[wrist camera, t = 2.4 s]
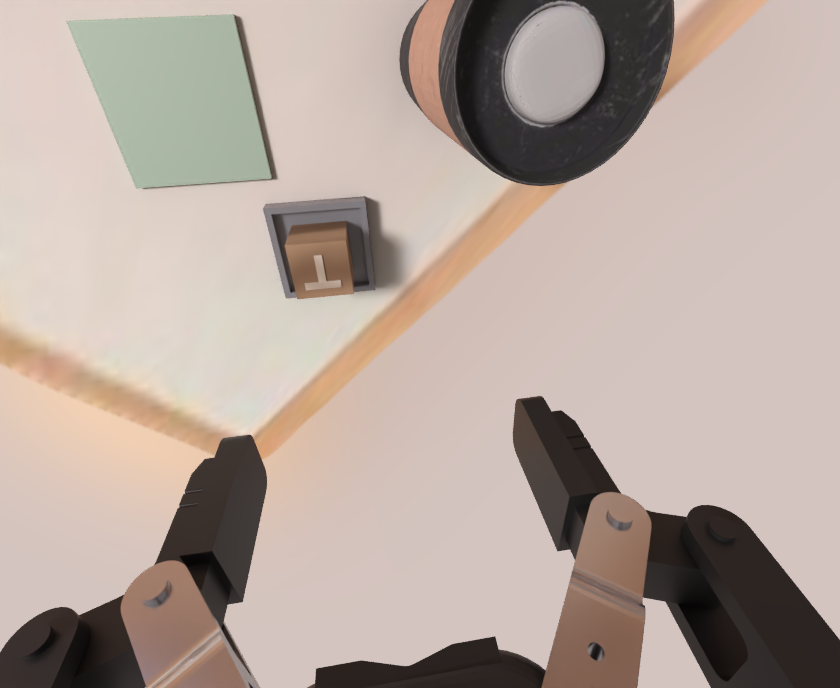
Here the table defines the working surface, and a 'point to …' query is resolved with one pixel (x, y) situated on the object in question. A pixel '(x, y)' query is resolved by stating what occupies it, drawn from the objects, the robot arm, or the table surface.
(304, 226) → the letter cube
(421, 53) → the travel mug
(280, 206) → the tray
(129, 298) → the table surface
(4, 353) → the table surface
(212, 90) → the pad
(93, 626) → the robot arm
